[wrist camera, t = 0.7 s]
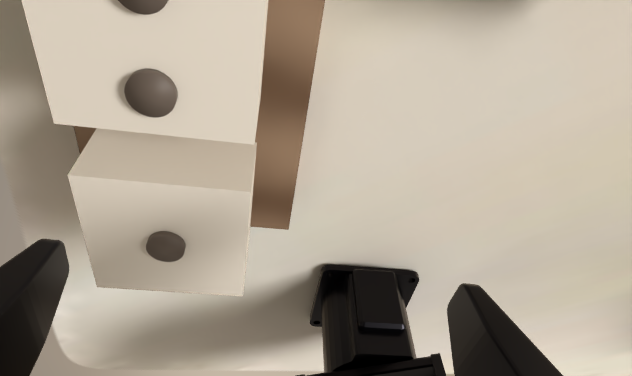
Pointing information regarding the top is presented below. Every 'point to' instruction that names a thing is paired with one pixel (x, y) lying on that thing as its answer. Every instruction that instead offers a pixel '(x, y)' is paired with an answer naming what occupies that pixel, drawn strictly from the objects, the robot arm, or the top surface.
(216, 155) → the tile one
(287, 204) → the brown flat slab
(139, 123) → the tile two
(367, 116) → the top surface
